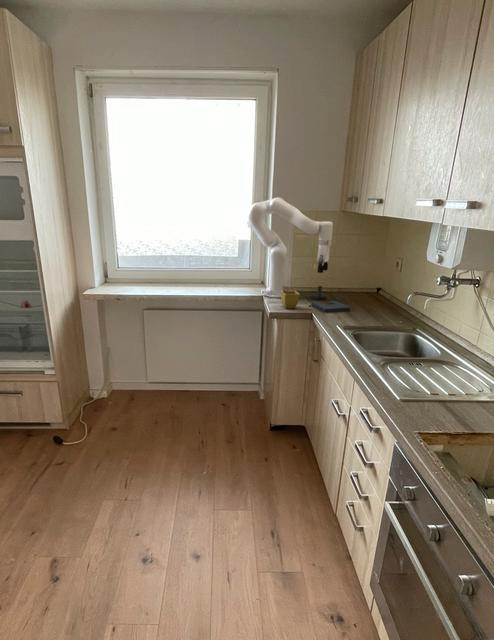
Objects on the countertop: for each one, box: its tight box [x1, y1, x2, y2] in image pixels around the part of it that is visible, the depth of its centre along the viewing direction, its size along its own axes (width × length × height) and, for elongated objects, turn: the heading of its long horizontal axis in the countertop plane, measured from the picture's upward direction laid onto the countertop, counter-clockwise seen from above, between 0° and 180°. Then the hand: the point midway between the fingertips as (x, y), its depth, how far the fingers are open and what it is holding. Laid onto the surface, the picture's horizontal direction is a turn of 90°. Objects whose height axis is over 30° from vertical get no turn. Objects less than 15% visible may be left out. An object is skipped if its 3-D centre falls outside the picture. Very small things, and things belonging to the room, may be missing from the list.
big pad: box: [311, 300, 351, 313], centre depth 243 cm, size 16×16×2 cm
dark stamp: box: [311, 285, 327, 301], centre depth 263 cm, size 6×6×8 cm
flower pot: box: [280, 290, 300, 309], centre depth 242 cm, size 9×9×9 cm
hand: (322, 271), depth 258 cm, fingers open, 9 cm apart
